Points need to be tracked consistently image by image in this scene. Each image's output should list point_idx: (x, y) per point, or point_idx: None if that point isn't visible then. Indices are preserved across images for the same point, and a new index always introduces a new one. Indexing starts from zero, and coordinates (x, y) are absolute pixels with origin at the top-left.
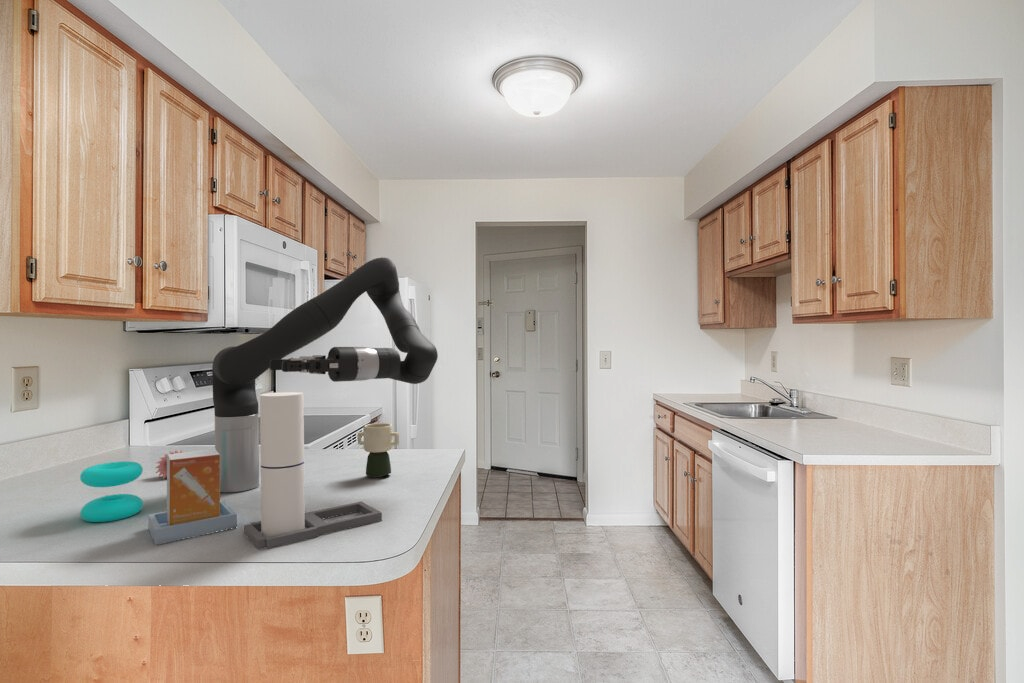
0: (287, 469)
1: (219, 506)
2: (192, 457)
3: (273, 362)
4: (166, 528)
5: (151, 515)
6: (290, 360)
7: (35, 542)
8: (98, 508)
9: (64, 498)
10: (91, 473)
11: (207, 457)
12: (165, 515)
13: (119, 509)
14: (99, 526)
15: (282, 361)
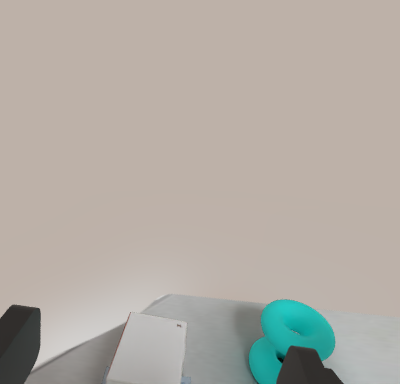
0: None
1: None
2: (121, 337)
3: (293, 368)
4: (103, 379)
5: (181, 378)
6: (4, 344)
7: (215, 310)
8: (257, 342)
9: (390, 350)
10: (271, 302)
11: (112, 360)
12: None
13: (253, 362)
14: (237, 354)
15: (36, 308)
